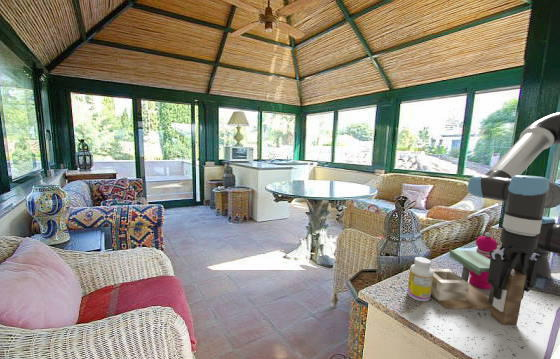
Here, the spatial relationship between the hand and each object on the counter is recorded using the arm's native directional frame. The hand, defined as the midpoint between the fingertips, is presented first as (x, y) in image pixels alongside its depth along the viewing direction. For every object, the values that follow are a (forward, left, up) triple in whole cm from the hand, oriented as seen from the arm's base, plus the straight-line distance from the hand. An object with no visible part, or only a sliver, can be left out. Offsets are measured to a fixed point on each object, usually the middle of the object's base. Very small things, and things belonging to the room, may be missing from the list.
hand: (505, 308), depth 73 cm
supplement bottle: (+19, -11, -4) cm, 22 cm away
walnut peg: (0, 0, -4) cm, 4 cm away
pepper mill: (-9, -19, -4) cm, 21 cm away
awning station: (+5, -12, -4) cm, 13 cm away
